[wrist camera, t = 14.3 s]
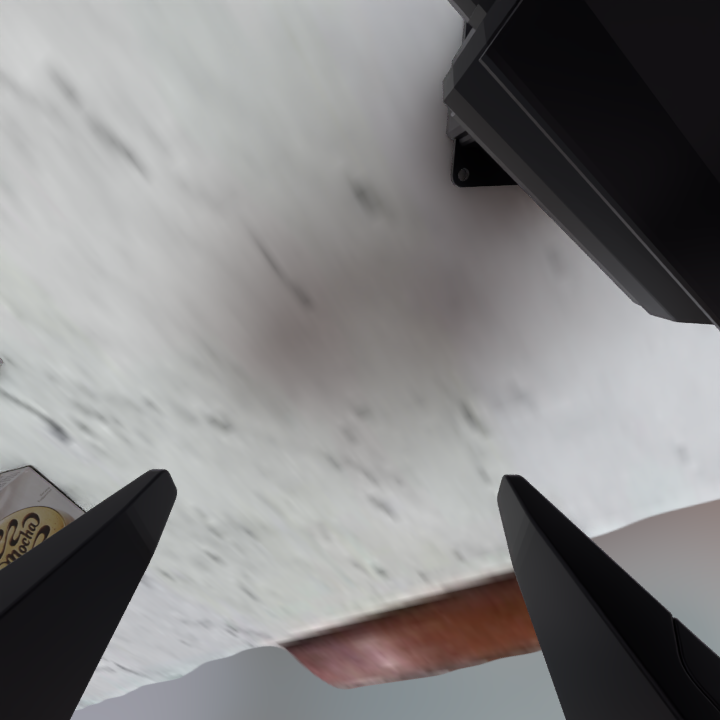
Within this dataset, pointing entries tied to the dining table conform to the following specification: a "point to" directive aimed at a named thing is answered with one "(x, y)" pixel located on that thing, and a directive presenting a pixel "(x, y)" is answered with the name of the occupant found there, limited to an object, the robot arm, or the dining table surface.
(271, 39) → the dining table surface
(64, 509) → the coffee box
